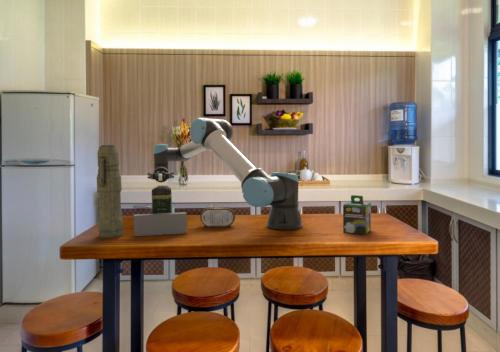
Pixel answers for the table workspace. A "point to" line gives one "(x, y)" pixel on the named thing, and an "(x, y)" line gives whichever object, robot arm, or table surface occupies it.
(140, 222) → the board
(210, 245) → the table surface
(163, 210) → the coffee jar
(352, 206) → the chalk box
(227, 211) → the tin
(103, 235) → the carved stone statue
